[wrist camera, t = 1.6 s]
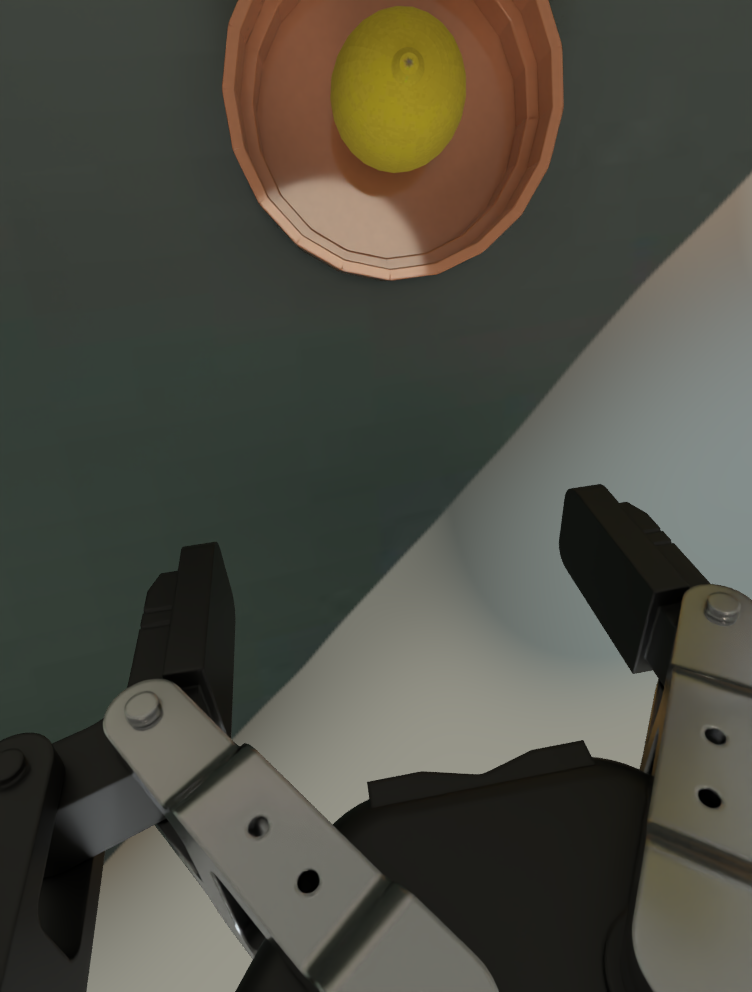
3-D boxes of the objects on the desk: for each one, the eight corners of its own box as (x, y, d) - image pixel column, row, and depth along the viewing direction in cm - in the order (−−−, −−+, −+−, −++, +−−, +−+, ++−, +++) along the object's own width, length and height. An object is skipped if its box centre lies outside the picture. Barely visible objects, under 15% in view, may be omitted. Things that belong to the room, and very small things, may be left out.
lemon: (458, 69, 29) (504, -9, 21) (431, 197, 30) (464, 167, 23) (342, 37, 28) (346, -55, 20) (320, 170, 30) (317, 130, 22)
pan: (173, 111, 29) (150, 84, 25) (396, -147, 26) (407, -220, 22) (381, 338, 33) (387, 344, 29) (591, 133, 30) (628, 111, 26)
